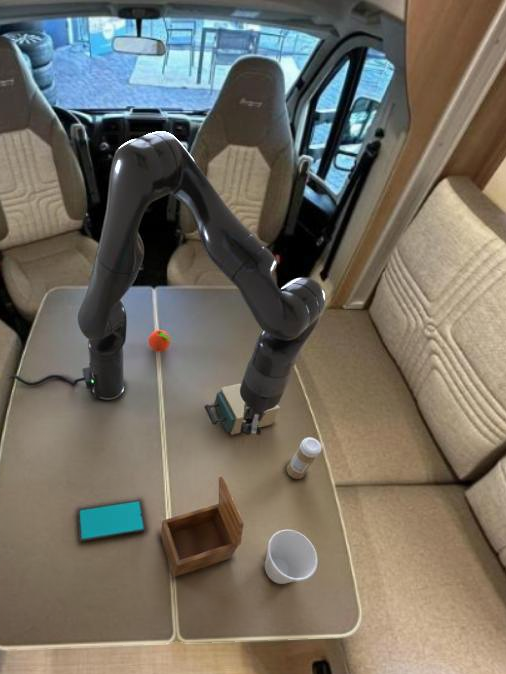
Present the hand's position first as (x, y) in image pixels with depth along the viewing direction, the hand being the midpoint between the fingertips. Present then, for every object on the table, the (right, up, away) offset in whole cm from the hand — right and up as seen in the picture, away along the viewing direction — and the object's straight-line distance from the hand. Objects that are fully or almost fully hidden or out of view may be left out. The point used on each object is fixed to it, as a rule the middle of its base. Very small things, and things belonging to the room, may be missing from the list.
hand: (245, 431), depth 87 cm
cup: (+8, -32, +5) cm, 33 cm away
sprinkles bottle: (+18, -14, +21) cm, 30 cm away
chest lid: (-4, -16, -4) cm, 17 cm away
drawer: (+4, 0, +30) cm, 30 cm away
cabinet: (+7, 0, +32) cm, 32 cm away
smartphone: (-29, -23, +11) cm, 39 cm away
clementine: (-16, +20, +48) cm, 54 cm away
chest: (-10, -27, +8) cm, 30 cm away
